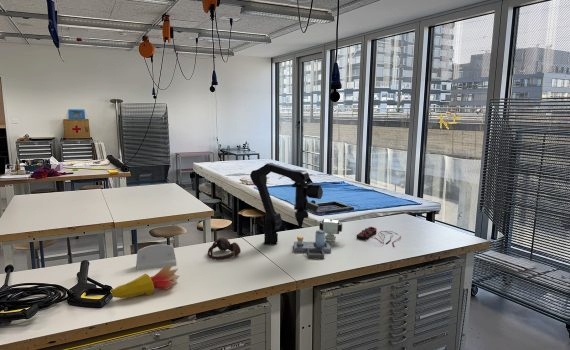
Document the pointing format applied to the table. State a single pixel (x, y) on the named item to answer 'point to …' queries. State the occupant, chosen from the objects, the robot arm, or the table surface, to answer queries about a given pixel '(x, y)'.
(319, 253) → the tray
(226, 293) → the table surface
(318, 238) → the cartridge
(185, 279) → the table surface
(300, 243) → the plunger
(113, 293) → the torch
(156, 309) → the table surface
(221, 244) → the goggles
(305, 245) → the housing
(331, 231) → the pneumatic valve
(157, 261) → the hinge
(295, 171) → the robot arm
